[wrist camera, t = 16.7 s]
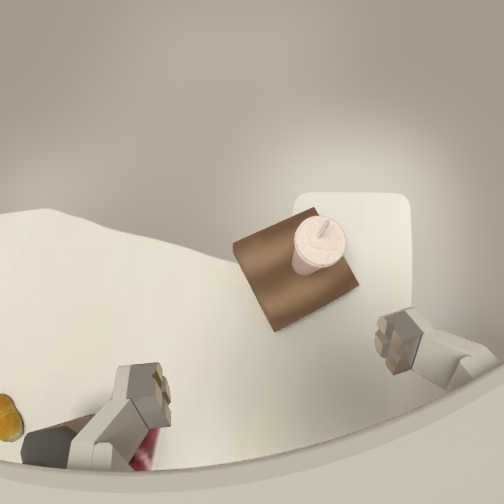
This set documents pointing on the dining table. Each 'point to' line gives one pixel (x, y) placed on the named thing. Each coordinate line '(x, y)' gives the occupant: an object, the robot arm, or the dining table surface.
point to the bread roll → (9, 420)
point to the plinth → (288, 274)
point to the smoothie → (317, 245)
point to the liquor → (52, 444)
